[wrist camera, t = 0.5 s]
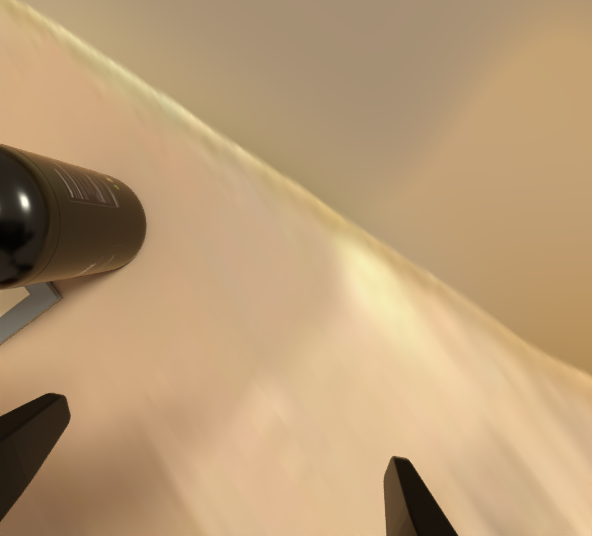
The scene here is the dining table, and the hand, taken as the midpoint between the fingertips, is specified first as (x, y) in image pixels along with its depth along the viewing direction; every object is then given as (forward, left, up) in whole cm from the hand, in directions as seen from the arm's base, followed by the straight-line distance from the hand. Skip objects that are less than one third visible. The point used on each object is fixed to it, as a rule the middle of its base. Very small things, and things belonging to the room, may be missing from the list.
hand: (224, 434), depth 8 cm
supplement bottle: (+1, +14, -14) cm, 20 cm away
